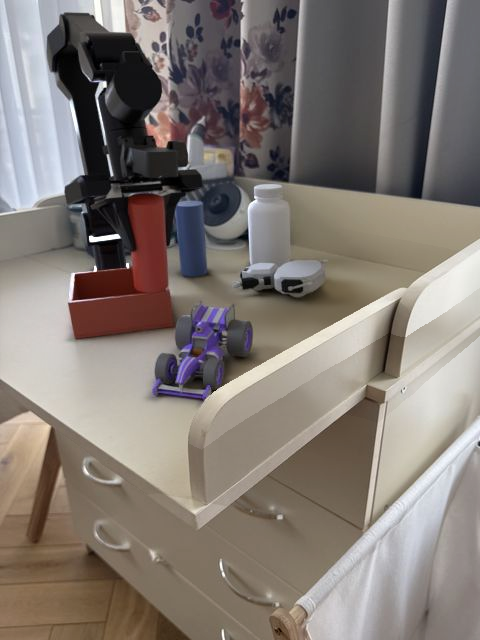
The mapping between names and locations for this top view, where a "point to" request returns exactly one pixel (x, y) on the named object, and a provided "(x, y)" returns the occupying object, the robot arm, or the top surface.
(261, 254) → the pill bottle
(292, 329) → the top surface
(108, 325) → the red bin
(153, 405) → the top surface
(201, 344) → the toy race car
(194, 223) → the blue pin
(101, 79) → the robot arm
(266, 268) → the robot toy
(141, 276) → the red pin
